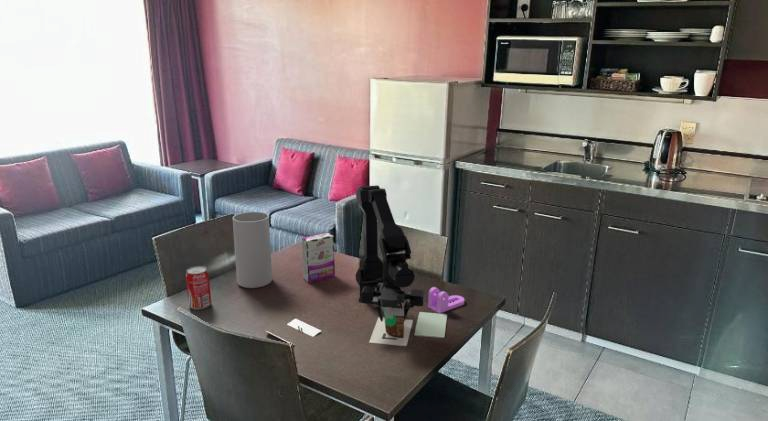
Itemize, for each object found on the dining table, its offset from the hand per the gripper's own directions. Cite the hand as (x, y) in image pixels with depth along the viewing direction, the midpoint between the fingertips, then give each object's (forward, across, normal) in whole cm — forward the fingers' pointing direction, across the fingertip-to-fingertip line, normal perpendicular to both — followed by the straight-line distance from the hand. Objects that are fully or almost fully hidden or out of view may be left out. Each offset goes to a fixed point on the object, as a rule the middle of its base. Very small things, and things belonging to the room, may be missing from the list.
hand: (392, 321), depth 164 cm
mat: (+3, +11, +6) cm, 13 cm away
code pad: (+3, 0, 0) cm, 3 cm away
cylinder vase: (+3, -55, +27) cm, 62 cm away
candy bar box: (+3, -33, +35) cm, 48 cm away
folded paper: (+4, -29, -7) cm, 30 cm away
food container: (+3, 0, 0) cm, 3 cm away
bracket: (+4, +16, +21) cm, 26 cm away
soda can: (+3, -65, +5) cm, 65 cm away
